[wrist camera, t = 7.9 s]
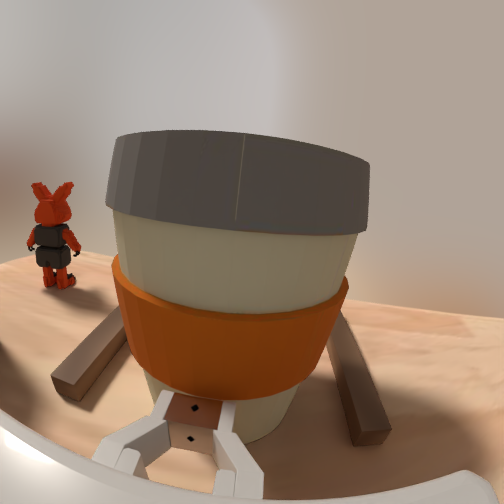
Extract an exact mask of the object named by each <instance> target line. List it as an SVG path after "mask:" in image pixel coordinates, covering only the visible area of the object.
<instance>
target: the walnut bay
mask: <svg viewBox="0 0 504 504" xmlns="http://www.w3.org/2000/svg"><path fill="white" fill-rule="evenodd" d="M126 340H127V336H126V332H125V328H124V324H123V320H122V315H121V311H120V307H119V306H118V307H117V308H116V309H115V310H114V311H113V312H112V313H111V314H110V315H109V316H108V317H107V318H106V319H105V320H104V321H103V322H101V323H100V324H99V325H98V326H97V327H96V328H95V329H94V330H93V331H92V332H91V333H90V334H89V335H88V336H87V337H86V338H85V339H84V340H83V342H82V343H81V344H80V345H79V346H78V347H77V348H76V349H75V350H74V351H73V352H72V353H71V354H70V355H69V356H68V357H67V358H66V359H65V360H64V361H63V362H62V363H61V364H60V365H59V366H58V367H57V368H56V370H55V371H54V372H53V373H52V374H51V378H52V381H53V384H54V386H55V389H56V392H58V393H61V394H63V395H65V396H67V397H70V398H72V399H74V400H77V401H80V400H81V399H82V397H83V396H84V395H85V393H86V392H87V391H88V389H89V388H90V387H91V385H92V384H93V383H94V381H95V380H96V379H97V377H98V376H99V375H100V373H101V372H102V371H103V369H104V368H105V367H106V366H107V364H108V363H109V362H110V360H111V359H112V358H113V356H114V355H115V354H116V353H117V351H118V350H119V349H120V347H121V346H122V345H123V344H124V342H125V341H126ZM326 346H327V350H328V353H329V357H330V360H331V364H332V367H333V371H334V374H335V378H336V381H337V385H338V389H339V392H340V396H341V400H342V403H343V407H344V411H345V415H346V419H347V423H348V427H349V430H350V434H351V439H352V443H353V446H363V445H374V444H382V443H383V442H384V440H385V439H386V437H387V436H388V434H389V433H390V431H391V430H392V428H391V425H390V423H389V420H388V418H387V415H386V413H385V410H384V408H383V405H382V403H381V400H380V398H379V396H378V393H377V391H376V388H375V386H374V384H373V381H372V379H371V377H370V374H369V372H368V370H367V367H366V365H365V363H364V361H363V358H362V356H361V354H360V352H359V349H358V347H357V345H356V343H355V341H354V338H353V336H352V334H351V332H350V330H349V327H348V325H347V323H346V321H345V319H344V317H343V315H342V313H341V310H340V312H339V314H338V317H337V319H336V322H335V324H334V327H333V329H332V331H331V334H330V336H329V338H328V341H327V343H326Z"/></svg>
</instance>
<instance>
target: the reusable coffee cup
mask: <svg viewBox="0 0 504 504" xmlns="http://www.w3.org/2000/svg"><path fill="white" fill-rule="evenodd" d="M369 178H370V165H369V163H368V162H366V161H364V160H363V159H361V158H358V157H355V156H352V155H350V154H347V153H344V152H341V151H337V150H334V149H330V148H326V147H323V146H318V145H314V144H309V143H305V142H300V141H295V140H289V139H283V138H277V137H270V136H263V135H255V134H247V133H237V132H223V131H207V130H165V131H150V132H140V133H133V134H127V135H124V136H120V137H118V138H117V139H116V142H115V147H114V152H113V157H112V162H111V168H110V174H109V180H108V186H107V194H106V201H105V202H106V206H108V207H110V208H111V209H113V218H114V226H115V235H116V242H117V249H118V254H117V255H116V256H115V257H114V260H113V263H112V265H111V266H112V272H113V277H114V282H115V288H116V293H117V297H118V302H119V307H120V311H121V315H122V320H123V324H124V328H125V332H126V336H127V339H128V343H129V346H130V350H131V353H132V355H133V356H134V358H135V359H136V361H137V362H138V363H139V365H140V366H141V367H142V368H143V370H144V373H145V377H146V380H147V383H148V386H149V390H150V393H151V396H152V399H153V402H154V405H155V404H156V402H157V399H158V397H159V395H160V393H161V391H162V390H167V391H171V392H176V393H181V394H185V395H190V396H195V397H201V398H207V399H214V400H221V401H228V402H236V411H235V419H234V427H233V433H236V434H237V435H238V437H239V438H240V440H241V441H242V443H243V444H246V443H250V442H253V441H255V440H258V439H260V438H262V437H264V436H266V435H267V434H269V433H270V432H272V431H273V430H274V429H275V428H276V427H277V426H278V425H279V424H280V422H281V421H282V419H283V417H284V415H285V413H286V412H287V410H288V408H289V406H290V403H291V401H292V399H293V397H294V395H295V393H296V391H297V389H298V387H299V385H300V383H301V382H302V381H303V380H305V379H306V378H307V377H308V376H309V374H310V373H311V372H312V371H313V370H314V369H315V367H316V365H317V363H318V361H319V359H320V357H321V354H322V352H323V350H324V348H325V345H326V343H327V341H328V338H329V336H330V334H331V331H332V329H333V327H334V324H335V322H336V319H337V317H338V314H339V312H340V309H341V307H342V304H343V302H344V299H345V297H346V294H347V291H348V289H349V285H348V281H347V278H346V277H345V272H346V269H347V266H348V263H349V260H350V257H351V254H352V251H353V248H354V245H355V242H356V238H357V236H358V233H360V232H363V231H366V228H367V221H368V205H369V204H368V203H369V180H370V179H369Z"/></svg>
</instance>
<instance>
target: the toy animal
mask: <svg viewBox="0 0 504 504" xmlns="http://www.w3.org/2000/svg"><path fill="white" fill-rule="evenodd" d="M73 186H74V184H72V182H66V183H64V184H63V186H59V188H58V189H57V190H56V191H55V193H54V194H53V195H51V193H50V192H49V190H48V189H47V187H46V186H45V185H43V184H42V183H41V182H39V183H33V184H32V185H31V187H32V188H33V193H34V194H35V196H36V198H37V199H38V200H39V201H40V203H39V204H38V206H37V208H36V210H35V214H34V215H35V221H36V222H37V223H41V224H39V225H36V227H35V228H33V230H32V232H31V234H30V236H29V239H28V242H27V246H28V249H29V250H30V251H32V250H35V248H33V247H32V246H33V245H34V244H35V243H36V244H37V245H40V246H39V247H37V249H36V251H35V252H36V262H37V264H38V265H39V266H40V267H43V273H44V276H43V280H44V285H45V287H48V286H52V285H53V284H54V283H57V286H58V288H59V289H62V288H64V289H65V288H66V287H67V286H69V285H73V284H74V283H75V280H76V278H75V277H74V275H72V273H71V274H67V269H66V266H67V265H69V263H71V262H70V261H71V252H70V248H71V249H72V251H74V252H76V255H75V254H74V255H73V256H74V257H76V256H77V255H79V254H80V251H81V250H80V249H81V246H80V244H79V243H78V242H77V239H76V238H75V236H74V234H73V232H72V231H71V230H69V227H68V225H67V224H63V222H66V221H68V220H69V219H70V218H71V216H72V213H71V210H70V207H69V206H68V203H67V201H66V198H67V197H68V195H70V194H71V189H72V187H73ZM65 244H68V245H69V247H70V248H69V247H68V246H67V245H65ZM30 247H31V248H32V249H30ZM53 269H56V271H57V272H53Z"/></svg>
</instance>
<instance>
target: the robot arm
mask: <svg viewBox="0 0 504 504" xmlns="http://www.w3.org/2000/svg"><path fill="white" fill-rule="evenodd" d="M235 411H236V402H228V401H221V400H214V399H207V398H201V397H195V396H190V395H185V394H181V393H176V392H171V391H167V390H162V391H161V393H160V395H159V397H158V399H157V402H156V404H155V406H154V408H153V410H152V413H151V415H150V416H145V417H143V418H141V419H139V420H137V421H135V422H133V423H132V424H130V425H128V426H126V427H124V428H122V429H120V430H118V431H116V432H114V433H112V434H110V435H108V436H106V437H104V438H103V439H102V441H101V442H100V444H99V446H98V448H97V450H96V451H95V453H94V455H93V457H92V459H88V458H86V457H84V456H82V455H79V454H77V453H75V452H73V451H71V450H69V449H67V448H65V447H63V446H61V445H59V444H57V443H55V442H53V441H51V440H49V439H47V438H46V437H44V436H42V435H40V434H38V433H37V432H35V431H33V430H32V429H30V428H28V427H27V426H25V425H24V424H22V423H20V422H19V421H17V420H16V419H14V418H13V417H11V416H10V415H8V414H7V413H5V412H4V411H2V410H1V409H0V504H500V503H499V501H498V498H497V496H496V493H495V491H494V489H493V487H492V485H491V484H490V483H489V482H488V481H487V480H485V479H484V478H482V477H480V476H478V475H477V474H475V473H473V472H471V471H469V470H461V471H457V472H454V473H452V474H449V475H446V476H443V477H440V478H436V479H433V480H430V481H426V482H423V483H419V484H415V485H412V486H408V487H403V488H399V489H394V490H389V491H384V492H379V493H373V494H367V495H360V496H352V497H343V498H332V499H317V500H265V499H263V483H264V472H263V471H262V470H261V468H260V467H259V466H258V464H257V463H256V461H255V460H254V459H253V457H252V456H251V454H250V453H249V452H248V450H247V449H246V447H245V446H244V444H243V443H242V441H241V440H240V438H239V437H238V435H237V434H236V433H233V427H234V419H235ZM171 447H174V448H179V449H184V450H189V451H194V452H199V453H204V454H209V455H212V456H213V458H214V460H215V462H216V464H217V466H218V468H219V470H218V471H217V472H216V477H215V482H214V488H213V493H212V494H209V493H203V492H197V491H192V490H187V489H183V488H178V487H174V486H169V485H165V484H161V483H158V482H154V481H150V480H149V478H148V475H147V472H146V469H145V467H147V466H148V465H149V464H151V463H152V462H153V461H155V460H156V459H157V458H159V457H160V456H161V455H163V454H164V453H165V452H166V451H168V450H169V449H170V448H171Z"/></svg>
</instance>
